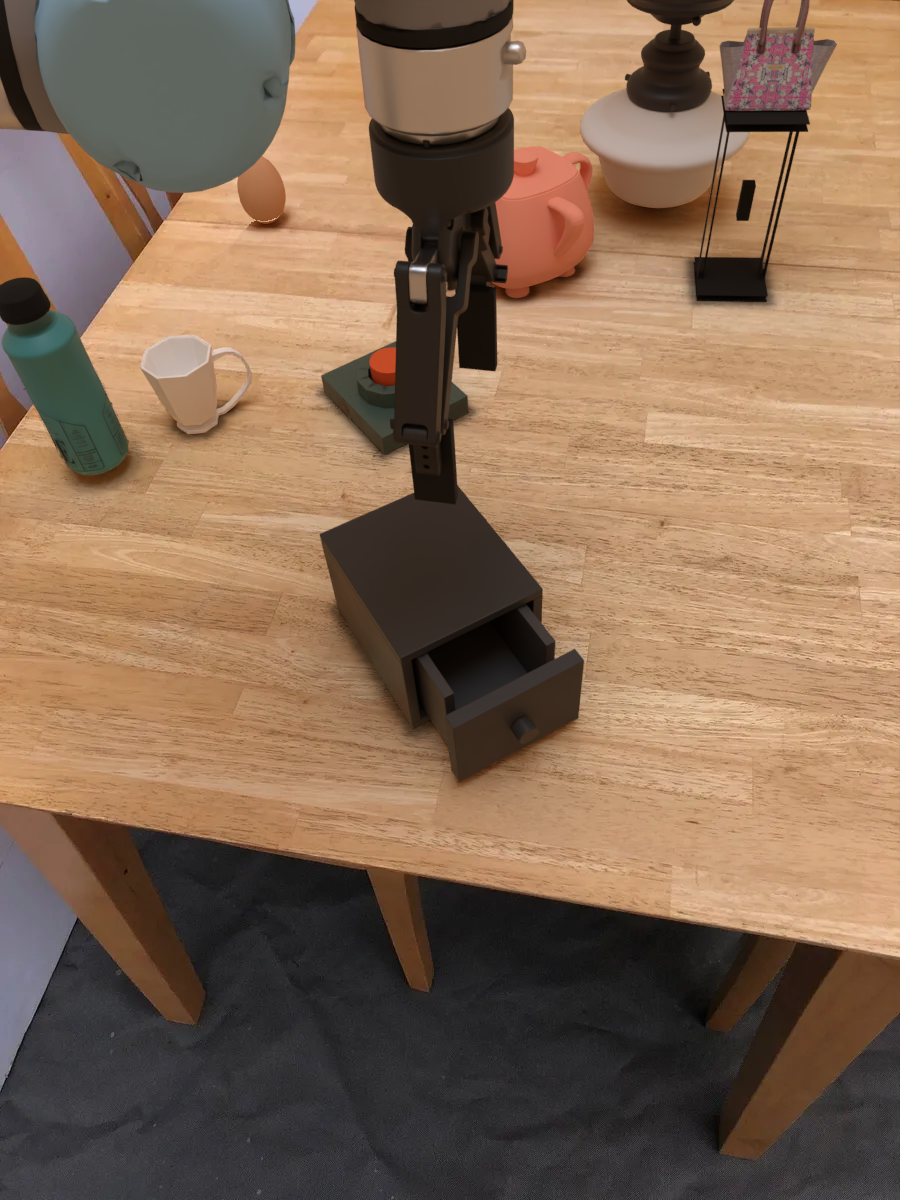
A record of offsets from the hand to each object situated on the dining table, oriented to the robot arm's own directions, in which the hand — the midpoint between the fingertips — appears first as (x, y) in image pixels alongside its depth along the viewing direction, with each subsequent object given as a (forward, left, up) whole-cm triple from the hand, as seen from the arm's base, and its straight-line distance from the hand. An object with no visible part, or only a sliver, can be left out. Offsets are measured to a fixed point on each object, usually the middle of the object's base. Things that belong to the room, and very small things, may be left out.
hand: (458, 428), depth 64 cm
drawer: (+9, -5, -18) cm, 21 cm away
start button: (-25, +8, -15) cm, 31 cm away
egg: (-65, +14, -19) cm, 69 cm away
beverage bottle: (-35, -20, -19) cm, 45 cm away
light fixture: (-37, +54, -19) cm, 69 cm away
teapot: (-37, +32, -19) cm, 53 cm away
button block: (-25, +8, -19) cm, 32 cm away
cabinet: (+2, -5, -19) cm, 19 cm away
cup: (-35, -8, -19) cm, 41 cm away
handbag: (-19, +49, -19) cm, 56 cm away
